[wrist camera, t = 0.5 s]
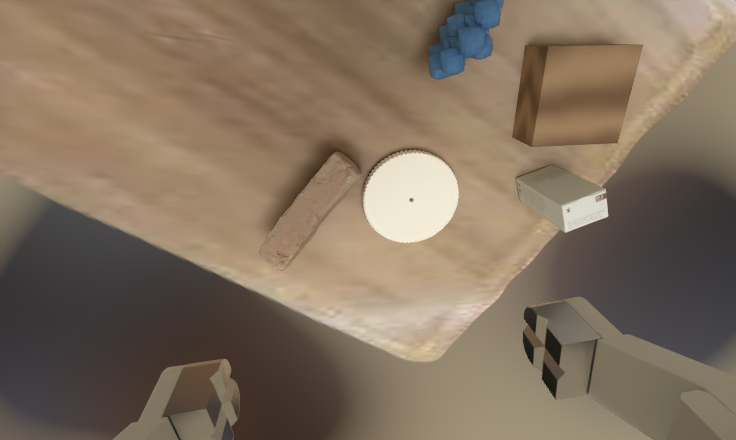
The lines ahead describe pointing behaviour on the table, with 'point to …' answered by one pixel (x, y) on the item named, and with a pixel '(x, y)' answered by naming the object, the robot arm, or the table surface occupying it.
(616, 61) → the walnut block
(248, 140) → the table surface
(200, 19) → the table surface
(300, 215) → the brick
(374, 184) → the plastic lid
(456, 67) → the grapes
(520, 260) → the table surface
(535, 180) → the skincare box
